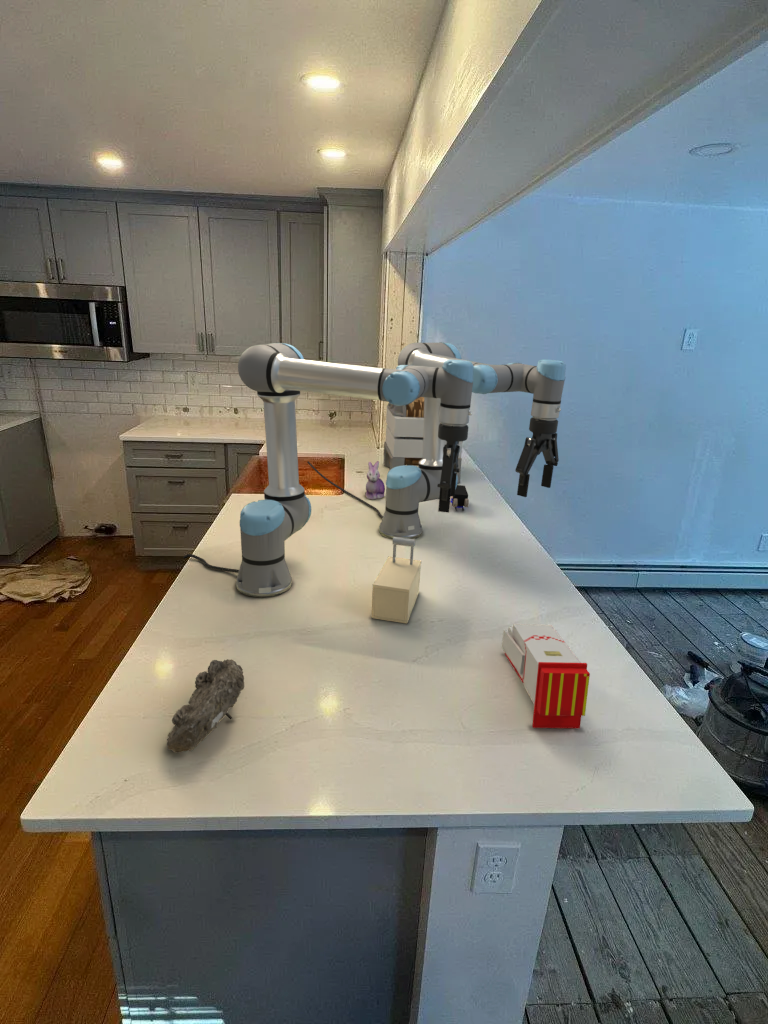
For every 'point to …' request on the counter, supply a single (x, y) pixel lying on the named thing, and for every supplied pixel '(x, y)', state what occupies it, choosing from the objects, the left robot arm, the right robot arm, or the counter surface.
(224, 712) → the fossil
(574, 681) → the toy
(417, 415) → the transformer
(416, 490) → the right robot arm
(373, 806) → the counter surface
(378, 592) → the chest
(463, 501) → the figurine character
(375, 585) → the lid
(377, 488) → the figurine
